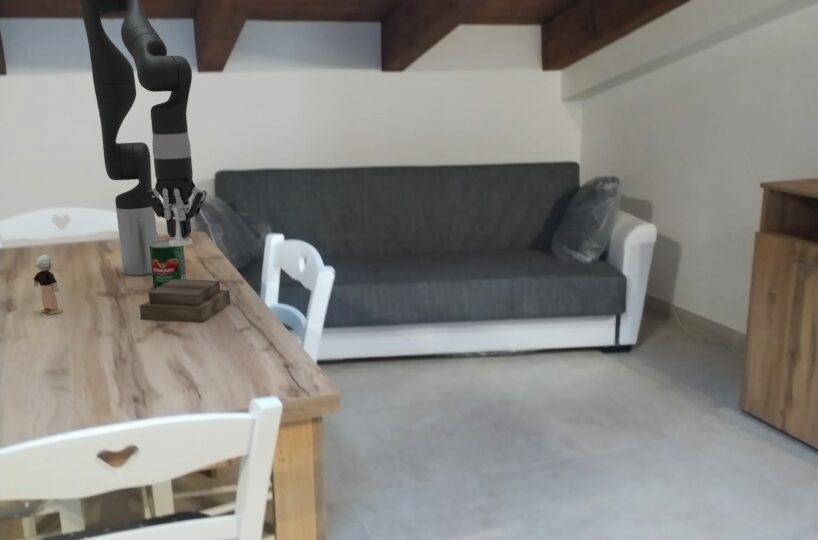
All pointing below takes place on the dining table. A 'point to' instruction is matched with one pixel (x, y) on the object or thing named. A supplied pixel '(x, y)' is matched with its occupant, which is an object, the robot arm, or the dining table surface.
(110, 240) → the dining table surface
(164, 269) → the canned tomato
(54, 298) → the grandmother figurine
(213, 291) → the walnut pedestal
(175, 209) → the chess piece
